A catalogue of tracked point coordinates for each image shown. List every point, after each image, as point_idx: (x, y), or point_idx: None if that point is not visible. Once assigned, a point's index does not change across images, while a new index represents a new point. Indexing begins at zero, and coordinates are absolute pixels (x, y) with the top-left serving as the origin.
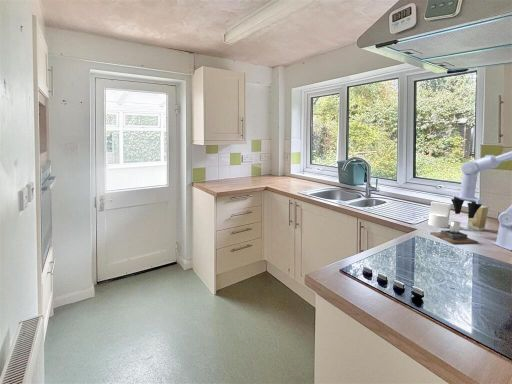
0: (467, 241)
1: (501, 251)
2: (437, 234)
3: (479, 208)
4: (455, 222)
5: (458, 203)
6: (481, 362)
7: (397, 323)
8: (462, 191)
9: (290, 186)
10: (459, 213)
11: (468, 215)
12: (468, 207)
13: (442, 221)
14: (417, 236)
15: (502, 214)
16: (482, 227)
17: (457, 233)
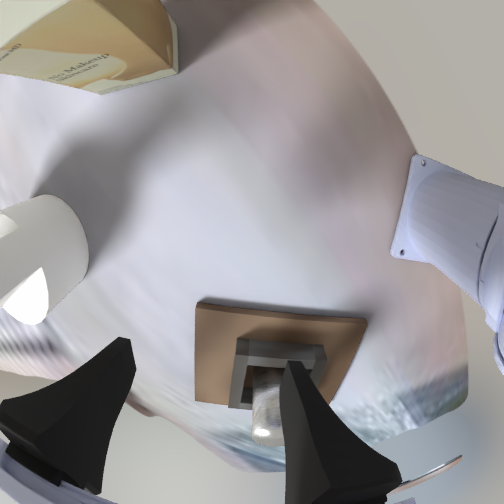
0: (344, 364)
1: (448, 306)
2: (225, 399)
3: (59, 20)
4: (283, 440)
5: (92, 446)
6: (451, 465)
7: (406, 488)
8: None
9: None
10: (129, 345)
11: (283, 410)
12: (288, 486)
13: (67, 281)
14: (218, 435)
15: None
16: (172, 37)
17: None
